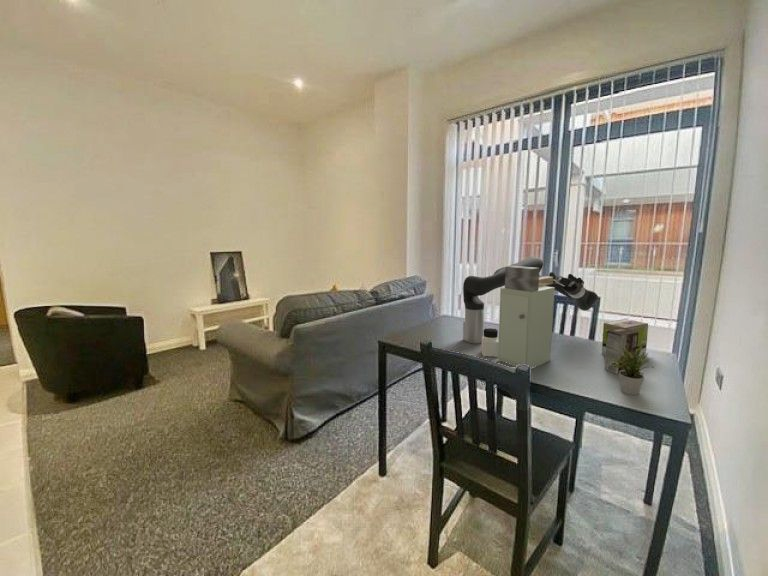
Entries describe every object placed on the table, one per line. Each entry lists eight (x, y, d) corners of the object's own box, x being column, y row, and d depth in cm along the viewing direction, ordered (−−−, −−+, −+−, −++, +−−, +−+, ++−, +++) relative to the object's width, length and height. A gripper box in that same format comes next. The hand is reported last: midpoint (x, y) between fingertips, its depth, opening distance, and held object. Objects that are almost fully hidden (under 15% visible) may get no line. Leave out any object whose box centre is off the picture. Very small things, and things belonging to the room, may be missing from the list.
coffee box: (620, 365, 142) (624, 327, 139) (635, 371, 136) (639, 332, 133) (603, 368, 140) (606, 330, 137) (617, 374, 134) (621, 334, 131)
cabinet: (495, 361, 150) (498, 288, 144) (521, 351, 160) (524, 283, 155) (525, 371, 138) (529, 293, 133) (550, 360, 149) (554, 287, 144)
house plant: (611, 377, 131) (615, 336, 128) (657, 389, 121) (662, 344, 119) (600, 389, 122) (603, 345, 119) (648, 403, 112) (654, 355, 109)
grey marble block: (504, 287, 145) (505, 266, 144) (536, 281, 159) (537, 262, 157) (531, 291, 136) (532, 268, 134) (562, 284, 149) (564, 264, 148)
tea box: (623, 348, 161) (626, 317, 159) (646, 355, 152) (650, 323, 149) (600, 353, 156) (603, 321, 154) (622, 361, 147) (625, 327, 144)
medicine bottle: (499, 357, 154) (499, 331, 152) (482, 356, 155) (483, 330, 153) (497, 351, 161) (498, 326, 159) (481, 351, 162) (481, 326, 160)
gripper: (561, 279, 174) (547, 266, 164) (591, 282, 162) (578, 268, 153) (556, 293, 173) (542, 280, 163) (587, 297, 161) (573, 283, 152)
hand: (559, 274), depth 158 cm, fingers open, 8 cm apart
